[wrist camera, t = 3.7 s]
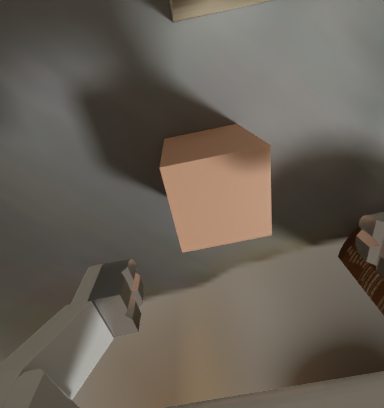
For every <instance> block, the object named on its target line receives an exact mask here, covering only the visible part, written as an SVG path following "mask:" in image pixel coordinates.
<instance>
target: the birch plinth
mask: <svg viewBox="0 0 384 408" xmlns="http://www.w3.org/2000/svg"><path fill="white" fill-rule="evenodd" d="M267 1H271V0H169V2H170V8H171V13H172V19H173V22H177V21H181V20H186V19H190V18H195V17H199V16H204V15H208V14H213V13H217V12H222V11H226V10H231V9H235V8H240V7H244V6H249V5H253V4H258V3H262V2H267Z"/></svg>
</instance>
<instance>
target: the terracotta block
mask: <svg viewBox="0 0 384 408" xmlns="http://www.w3.org/2000/svg"><path fill="white" fill-rule="evenodd" d="M159 168H160V172H161V175H162V179H163V183H164V186H165V190H166V194H167V198H168V201H169V205H170V209H171V212H172V216H173V220H174V223H175V227H176V231H177V235H178V238H179V242H180V246H181V249H182V253H183V252H188V251H193V250H198V249H203V248H208V247H213V246H219V245H224V244H229V243H234V242H239V241H244V240H249V239H254V238H259V237H265V236H270V235H272V212H271V163H270V145H269V144H268V143H266V142H265V141H263V140H262V139H260V138H258V137H257V136H255V135H254V134H252V133H251V132H249V131H248V130H246V129H244V128H243V127H241V126H240V125H238V124H233V125H228V126H223V127H218V128H214V129H209V130H204V131H199V132H194V133H190V134H185V135H180V136H175V137H170V138H166V139H164V143H163V149H162V155H161V161H160V167H159Z"/></svg>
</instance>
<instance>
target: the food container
mask: <svg viewBox="0 0 384 408" xmlns="http://www.w3.org/2000/svg"><path fill="white" fill-rule="evenodd" d="M360 231H361V228H360V227H358V228H357V229H356V230H355V231H354V232H353V233H352V234H351V235H350V236H349V237H348V239H347V240H346V241H345V243H344V244H343V246H342V248H341V250H340V253H339V255H338V257H339V258H340V260H341V261H342V262H343V264H344V265H345V266H346V267H347V269H348V270H349V271H350V273H351V274H352V275H353V276H354V278H355V279H356V280H357V282H358V283H359V284H360V285H361V287H362V288H363V289H364V290H365V292H366V293H367V294H368V296H369V297H370V298H371V299H372V301H373V302H374V303H375V305H376V306H377V307H378V309H379V310H380V311H381V312H382V314H383V315H384V278H383V277H382V276H381V275H380V274H379V273H378V272H377V271H376V265H373V264H371V263H368V262H366V261H365V260H364V259H363V258H362V257H361V256H360V254H359V253H358V251H357V248H356V244H355V241H356V236H357V235H358V233H359V232H360Z"/></svg>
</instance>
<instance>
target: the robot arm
mask: <svg viewBox="0 0 384 408" xmlns="http://www.w3.org/2000/svg"><path fill="white" fill-rule="evenodd" d="M358 226H359V227H360V228H361V231H360V232H359V233H358V235H357V236H356V241H355V244H356V248H357V251H358V253H359V254H360V256H361V257H362V258H363V259H364V260H365V261H366V262H368V263H371V264H373V265H376V271H377V272H378V273H379V274H380V275H381V276H382V277H383V278H384V212H378V213H373V214H368V215H363V216H362V217H361V219H360V221H359V225H358ZM136 268H137V267H136V264H135V262H134V260H132V259H128V260H122V261H116V262H110V263H105V264H99V265H93V266H90V267H89V268H88V269H87V271H86V273H85V275H84V277H83V279H82V281H81V283H80V286H79V288H78V290H77V292H76V294H75V296H74V298H73V300H72V302H71V304H70V305H66V306H65V307H64V308H62V309H61V310H60V311H59V312H58V313H57V314H56V315H54V316H53V317H52V318H51V319H50V320H49V321H48V322H47V323H45V324H44V325H43V326H42V327H41V328H40V329H39V330H38V331H36V332H35V333H34V334H33V335H32V336H31V337H30V338H29V339H27V340H26V341H25V342H24V343H23V344H22V345H21V346H20V347H18V348H17V349H16V350H15V351H14V352H13V353H12V354H11V355H9V356H8V357H7V358H6V359H5V360H4V361H3V362H2V363H0V408H79V407H78V406H77V405H76V404H75V403H74V402H73V401H72V399H73V398H74V396H75V395H76V393H77V392H78V390H79V389H80V388H81V386H82V385H83V383H84V382H85V380H86V379H87V377H88V376H89V374H90V373H91V371H92V370H93V368H94V367H95V365H96V364H97V362H98V361H99V360H100V358H101V357H102V355H103V354H104V352H105V351H106V349H107V348H108V346H109V345H110V343H111V342H112V340H113V337H116V336H121V335H125V334H130V333H135V332H138V331H139V325H140V319H141V312H140V309H139V307H140V305H141V304H142V303H143V299H144V286H143V282H142V279H141V276H140V275H138V274H136ZM165 408H384V371H383V372H377V373H372V374H366V375H359V376H353V377H347V378H341V379H335V380H329V381H323V382H316V383H310V384H304V385H298V386H293V387H286V388H280V389H274V390H268V391H262V392H256V393H250V394H244V395H238V396H232V397H225V398H220V399H213V400H207V401H201V402H195V403H190V404H183V405H177V406H171V407H165Z"/></svg>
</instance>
